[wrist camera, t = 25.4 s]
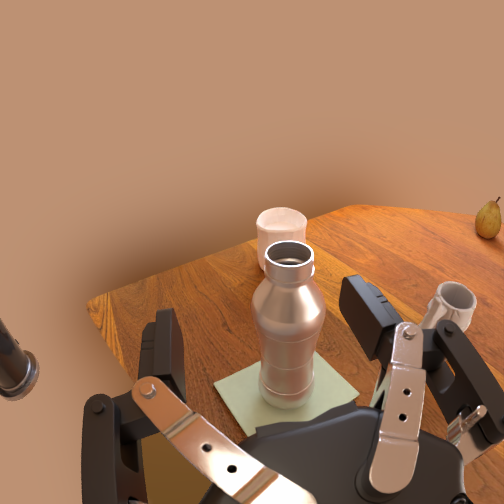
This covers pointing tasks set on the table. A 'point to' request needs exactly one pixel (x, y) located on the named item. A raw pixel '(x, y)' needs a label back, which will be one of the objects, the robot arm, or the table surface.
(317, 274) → the table surface
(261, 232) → the cup
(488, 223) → the fruit
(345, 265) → the table surface
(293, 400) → the metal bottle
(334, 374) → the mat
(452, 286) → the mug
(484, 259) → the table surface
